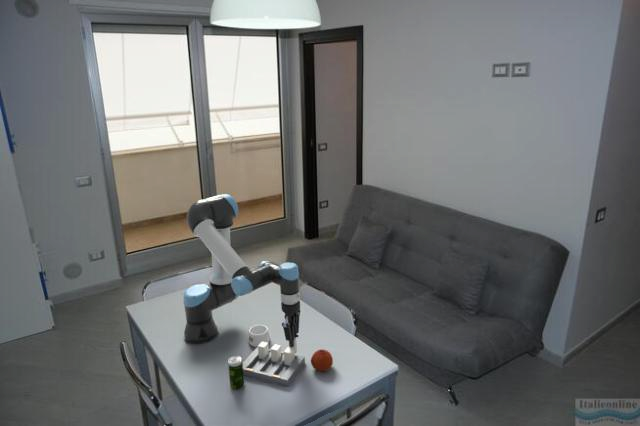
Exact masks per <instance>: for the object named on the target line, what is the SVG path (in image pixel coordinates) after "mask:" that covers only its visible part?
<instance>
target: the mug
mask: <svg viewBox="0 0 640 426" xmlns="http://www.w3.org/2000/svg"><path fill="white" fill-rule="evenodd" d="M270 340H271V337H270V331H269V328H268V326H266V325H263V324H255V325H253V326H250V327H249V328H248V337H247V342H248V344H249V345H250V346H252V347H255V348H257V347H258V345H259V344H260V343H261V342H262V341H263V342H267V343H268V344H269V343H270Z"/></svg>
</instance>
